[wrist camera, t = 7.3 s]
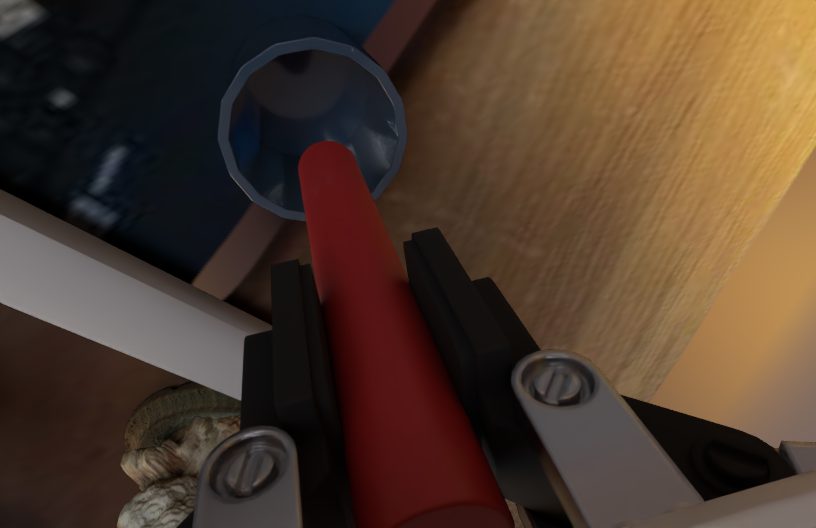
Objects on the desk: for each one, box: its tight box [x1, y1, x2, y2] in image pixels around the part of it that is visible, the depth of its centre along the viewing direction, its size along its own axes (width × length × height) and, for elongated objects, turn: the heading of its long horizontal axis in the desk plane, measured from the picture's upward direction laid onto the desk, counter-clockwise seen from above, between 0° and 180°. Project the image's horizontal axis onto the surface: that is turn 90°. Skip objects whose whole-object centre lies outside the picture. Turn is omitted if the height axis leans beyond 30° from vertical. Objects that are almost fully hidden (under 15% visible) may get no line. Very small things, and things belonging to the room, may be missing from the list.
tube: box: [0, 189, 272, 400], centre depth 28 cm, size 5×5×25 cm
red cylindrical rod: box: [298, 141, 515, 528], centre depth 13 cm, size 2×2×14 cm
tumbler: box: [218, 15, 408, 221], centre depth 24 cm, size 7×7×8 cm
